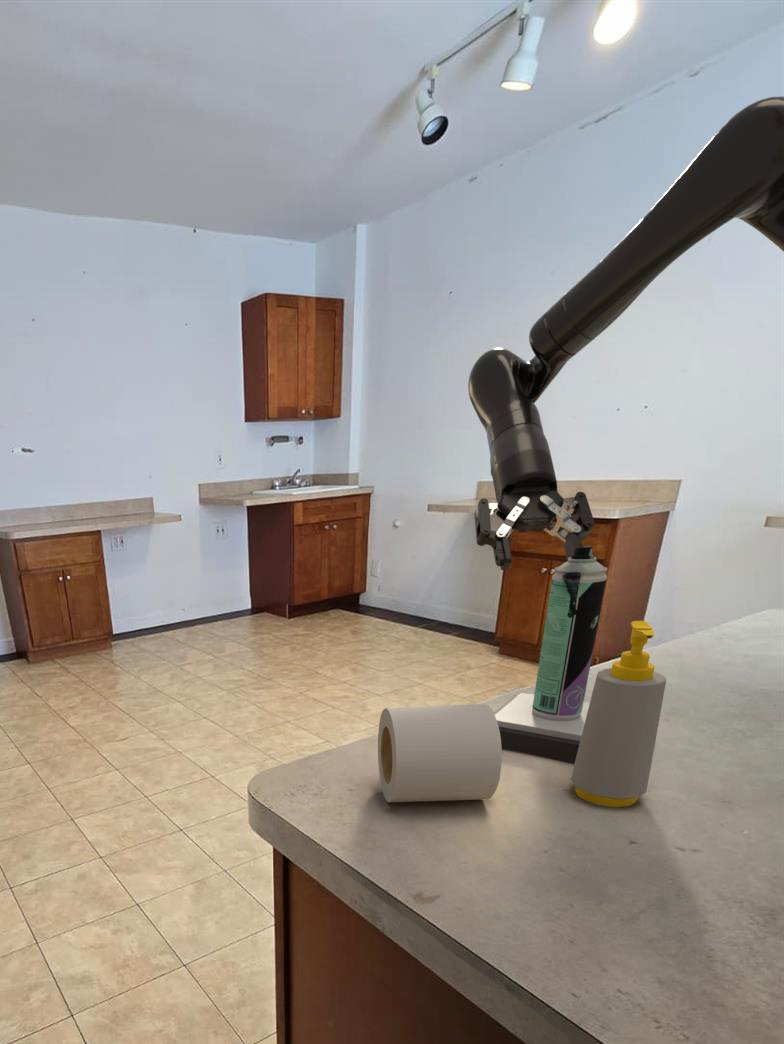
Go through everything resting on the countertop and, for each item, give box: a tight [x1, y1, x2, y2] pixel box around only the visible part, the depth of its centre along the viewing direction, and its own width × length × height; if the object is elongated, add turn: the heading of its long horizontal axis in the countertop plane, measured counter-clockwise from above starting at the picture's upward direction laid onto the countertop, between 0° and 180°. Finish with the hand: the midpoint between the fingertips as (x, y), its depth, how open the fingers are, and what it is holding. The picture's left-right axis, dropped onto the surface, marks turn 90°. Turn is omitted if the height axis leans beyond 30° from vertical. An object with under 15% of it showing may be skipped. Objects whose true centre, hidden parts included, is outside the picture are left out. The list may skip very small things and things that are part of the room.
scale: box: [493, 692, 590, 764], centre depth 80 cm, size 16×14×3 cm
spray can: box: [532, 545, 608, 721], centre depth 76 cm, size 6×6×20 cm
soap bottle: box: [570, 620, 667, 808], centre depth 63 cm, size 7×7×18 cm
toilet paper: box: [377, 703, 503, 803], centre depth 67 cm, size 10×10×10 cm
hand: (540, 564), depth 83 cm, fingers open, 8 cm apart
